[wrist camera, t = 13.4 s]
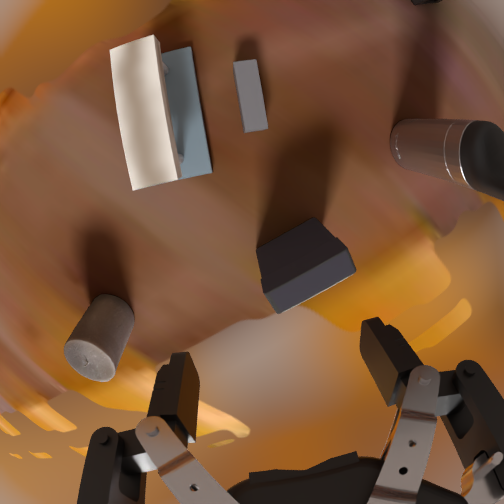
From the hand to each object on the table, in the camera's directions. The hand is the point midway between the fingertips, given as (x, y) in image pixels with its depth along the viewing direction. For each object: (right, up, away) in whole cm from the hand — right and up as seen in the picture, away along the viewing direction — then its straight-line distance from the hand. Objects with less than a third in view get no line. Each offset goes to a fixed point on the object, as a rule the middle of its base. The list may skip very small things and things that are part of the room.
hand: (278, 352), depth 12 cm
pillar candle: (-28, -8, +37) cm, 47 cm away
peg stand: (-14, +24, +25) cm, 38 cm away
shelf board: (-14, +21, +17) cm, 30 cm away
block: (-2, +27, +25) cm, 36 cm away
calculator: (+5, +6, +34) cm, 35 cm away
